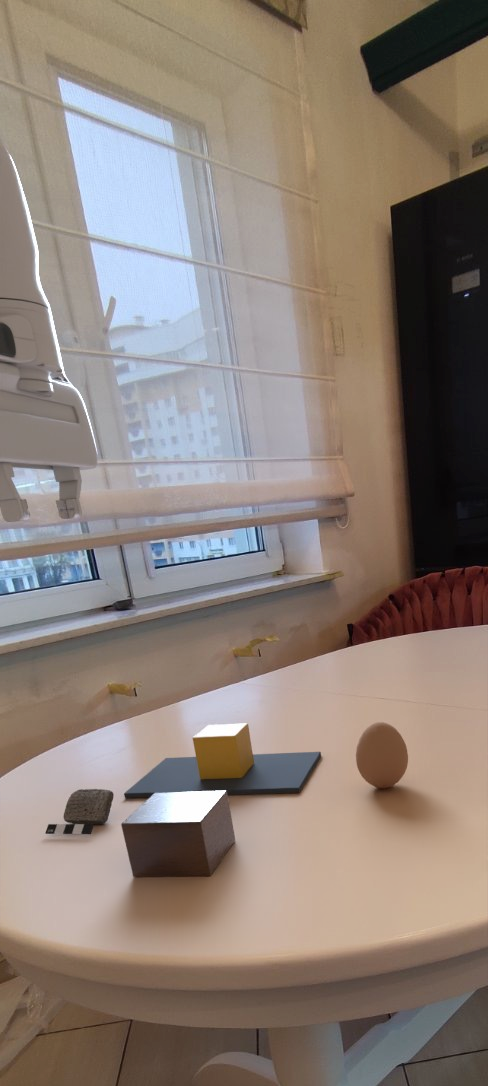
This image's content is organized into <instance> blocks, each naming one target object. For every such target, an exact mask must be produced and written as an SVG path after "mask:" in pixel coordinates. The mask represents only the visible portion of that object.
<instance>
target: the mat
mask: <svg viewBox="0 0 488 1086" xmlns="http://www.w3.org/2000/svg"><path fill="white" fill-rule="evenodd" d="M321 757H322V752H321V751H302V752H280V753H279V752H278V753H256V754H254V753H253V759H254V764H253V765H252V766H251V768H250V769H249V770H248V771H247V772H246V774H245V775H244V776H243V777H242V778H226V779H200V775H199V770H198V765H197V759H196V756H184V757H183V756H182V757H165V758H164V759H163V760H162V761H160V762H159V763H158V764H157V765H155V766H154V767H153V768H152V769H151V770H150V771H148V772H147V773H146V774H145V775H144V776H142V777H141V778H140V779H139V780H138V781H137V782H135V784H133V785H132V786H131V787H130V788H128V789H127V790H126V791H125V792H124V793H123V796H124V799H144V798H145V799H149V798H150V797H151V796H152V795H153V794H154V793H167V792H198V791H227V794H228V796H241V795H269V794H272V795H273V794H298V793H299V794H300V793H301V791H302V790H303V789H304V786H305V785H306V782H307V781H308V779H309V778H310V776H311V774H312V773H313V771H314V769H315V768H316V766H317V764H318V762H319V760H320V759H321Z"/></svg>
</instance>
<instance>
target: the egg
mask: <svg viewBox="0 0 488 1086" xmlns="http://www.w3.org/2000/svg"><path fill="white" fill-rule="evenodd" d="M355 750H356V751H355V762H356V767H357V770H358V772H359V774H360V775H361V776H360V777H362V779H364V780H365V782H366V783H368V784H369V785H371V786H372V787H375V788H379V789H389V788H391V787H393V786H395V785H396V784H398V783H399V781H400V780H402V778H403V777H404V775H405V773H406V771H407V769H408V764H409V753H408V748H407V745H406V741H405V739H404V738H403V736H402V734H401V732H399V731H398V729H397V728H395V726H393V725H391V724H390V723H387V722H383V721H378V722H374V723H372V724H370V725H369V726H367V727H366V729H364V731H362V734H361V736H360V738H359V740H358V743H357V745H356V749H355Z"/></svg>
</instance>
